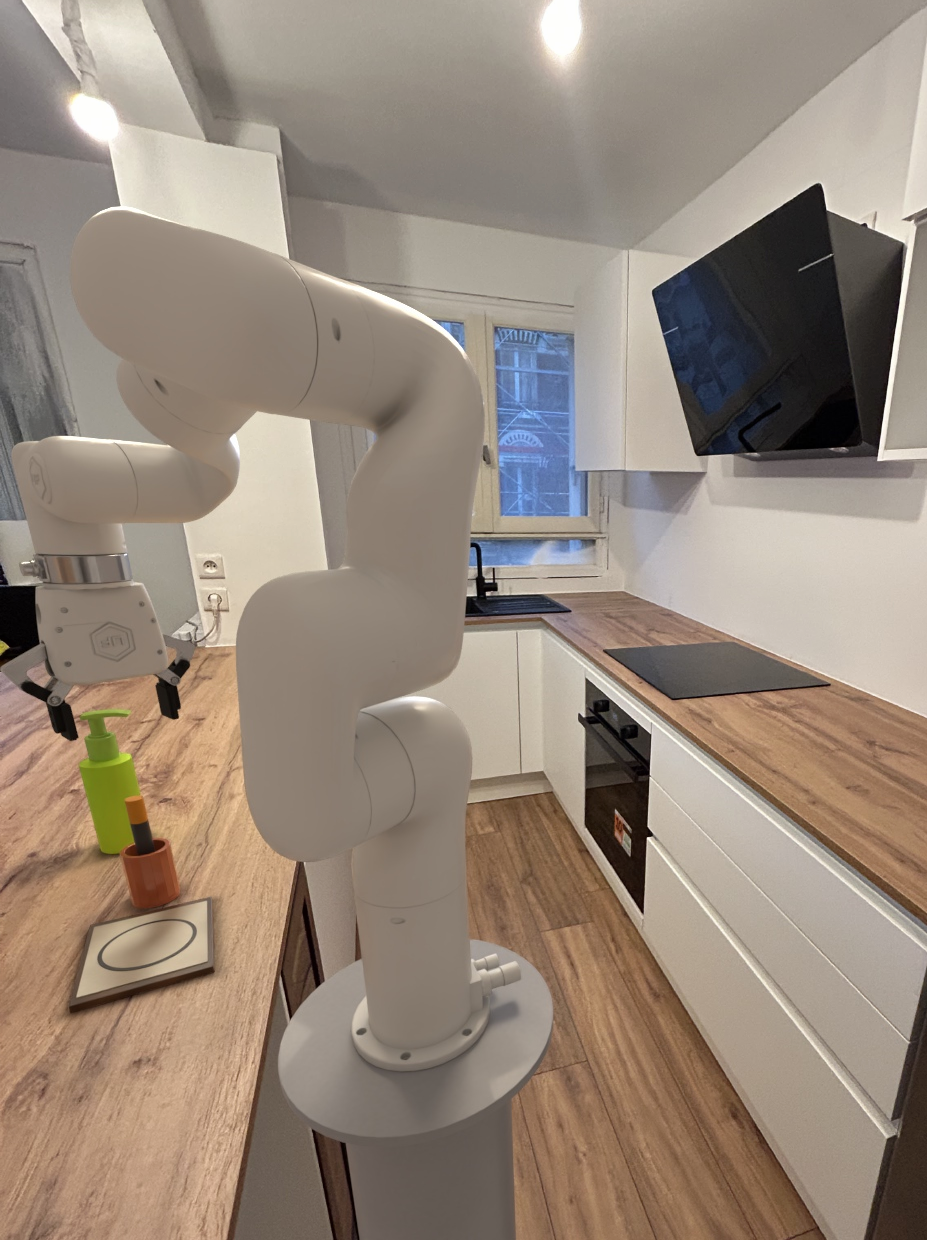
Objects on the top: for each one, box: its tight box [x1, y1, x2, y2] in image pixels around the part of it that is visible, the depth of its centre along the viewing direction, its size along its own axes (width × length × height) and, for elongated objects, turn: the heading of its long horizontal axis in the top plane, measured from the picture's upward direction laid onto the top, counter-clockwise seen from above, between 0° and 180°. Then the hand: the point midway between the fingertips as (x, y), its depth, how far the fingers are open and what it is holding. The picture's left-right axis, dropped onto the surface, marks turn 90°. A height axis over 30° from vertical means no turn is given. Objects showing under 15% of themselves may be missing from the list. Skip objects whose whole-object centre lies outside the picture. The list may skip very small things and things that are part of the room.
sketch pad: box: [68, 896, 216, 1014], centre depth 71 cm, size 12×15×1 cm
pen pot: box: [119, 837, 181, 909], centre depth 80 cm, size 5×5×7 cm
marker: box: [125, 795, 156, 856], centre depth 79 cm, size 2×2×13 cm
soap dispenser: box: [78, 708, 142, 855], centre depth 90 cm, size 6×7×20 cm
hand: (122, 726), depth 73 cm, fingers open, 9 cm apart
